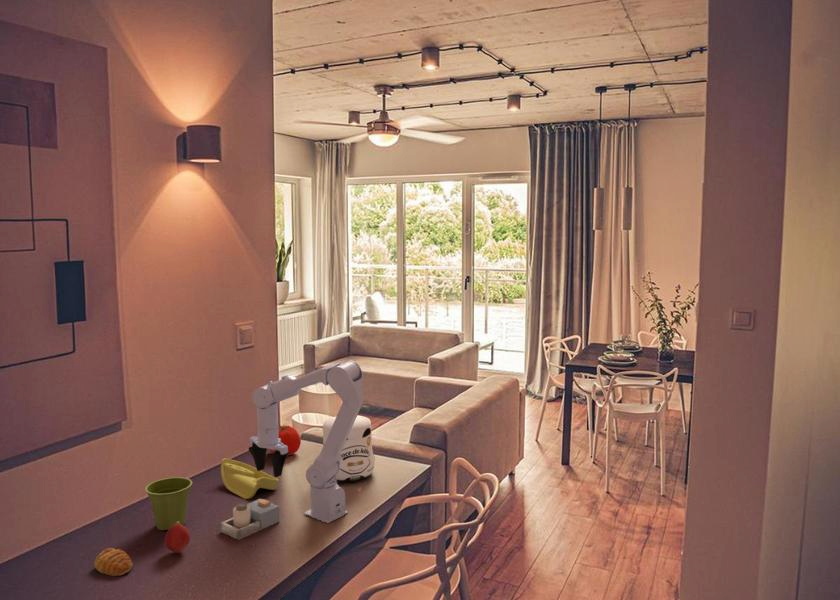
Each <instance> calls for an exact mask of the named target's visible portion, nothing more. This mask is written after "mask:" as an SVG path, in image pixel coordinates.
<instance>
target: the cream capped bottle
mask: <svg viewBox="0 0 840 600" xmlns="http://www.w3.org/2000/svg"><path fill="white" fill-rule="evenodd" d="M247 504H248V503H245V502H244V503H241V502H240V503H238V504H236V506H235V507H233V508H232V518H233V527H235V528H237V529H240V528H242V527H245V526H247V525H249V524H251V518H250V506H248V505H247Z"/></svg>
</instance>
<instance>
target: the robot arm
mask: <svg viewBox="0 0 840 600" xmlns="http://www.w3.org/2000/svg"><path fill="white" fill-rule="evenodd" d="M364 377H365V376H364V371H363V370H362V368H361V367H360V364H358V362H356V361H354V360H351V359H350V360H346V361H344V362H338V363H333V364H329V365H326V366H323V367H321V368H318V369H316V370H314V371H312V372H309V373H307V374H303V375H302V376H299V377H298V378H297V377H296V376H293V375H287V374H286V375H283V376H281V379H278V380H276V381H269V382H268V383H267V384H265V385H264V386H261V387H258V388H256V389H255V390H254V392H253V393H252V396H251V397H252V401H253V404H254V405H255V406H256V418H257V419H256V421H257V435H256V436H255V435H254V436H250V437H249V444H250V445H251V446H249V447H248V452H249V453H250V454H251V456H252V459H253V462H254V464H255V468H256V469H257V471H262V470H265V467H266V455H267V449H268V450H269V449H270V450H274V451H275V453H269V455H268V457H269V458H270V461H271V464H272V471H273V472H272V473H273V477H275V478H277V477H281V476H282V474H283V469H284V465H285V463H286V460H287V458H288V457H289V456H290V455H289V451H288V446H286V445H284V444H283V443H282V442H280V441H281V439H280V438H278V428H279V419H278V418H279V416H278V411H279V410H278V407H279V403H280V402H282V401H285V400H287V399H291V398H294V397H295V396H298V395H299V394H300V392H301V390H302V389H304V388H307V387H310V386H313V385H316V384H319V383H322V384H323V385H325V386H328V385H329V386H330V388H331V389H332V390H333V391H334V392H335V394H336V395H337V396H338V397H339V399H340V400H341V402H342V403H341V405H340V407H339V410H338V411H337V415H336V419H335V421H334V423H333V426H332V428H331V430H330V433H329V435H328V437H327V440H326V442H325V444H324V446H323V445H322V446H323V447H322V449H321V451H320V452H319V454H318V455H317V456H316V458H315V459H314V462H313V463H312V464H311V465H310V466H309V467H307V469H306V472H305V478H306V481H307V482H308V484H309V485H310V509H309V510H306V511H305V512H304V513H305V514H307V515H306V516H308V515H309V516H308V517H310V516H312V517H311V518H313V517H314V518H313V519H315V518H316V519H315V520H318V521H320V520H321V522H323V523H325V522H326V523H325V524H330V523H332V522H333V521H336V520H337V519H339V518H341V517H343V516H345V515H347V514H348V513H349V512H348V511H347V510H346V492H345V490H344V488H343V487H340V485H338V481H336V474H337V473H338V472H339V470H340V459H341V457H342V456H341V455H340V453H341V451H342V449H343V446H344V444H345V442H346V440H347V437H348V435H349V433H350V431H351V428H352V426H353V424H354V422H355V419H356V417H357V415H358V414H359V412H360V410H361V407H362V406H363V403H364V401H365V398H364V384H363V380H364ZM270 450H269V451H270ZM346 513H347V514H346ZM305 514H304V515H305ZM344 514H345V515H344Z"/></svg>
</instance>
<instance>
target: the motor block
mask: <svg viewBox="0 0 840 600" xmlns="http://www.w3.org/2000/svg"><path fill="white" fill-rule="evenodd" d="M246 504H247V505H248V506H250V516H251V517H253V518H255V519H257V520H260V521H261V529H262V528H265V527H267V526H269V525H271V524H273V523H276V522H278V521H279V522H280V505H277V504H274V503H273V502H271V501H269V500H267V499H265V498H258V499H256V500H253V501H250V502H249V503H248V502H247V503H246ZM279 522H278V523H279ZM276 524H277V523H276ZM267 528H268V527H267ZM265 529H266V528H265Z"/></svg>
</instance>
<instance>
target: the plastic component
mask: <svg viewBox="0 0 840 600" xmlns="http://www.w3.org/2000/svg"><path fill="white" fill-rule="evenodd" d="M220 463H221V464H220V475H221V480H222V483H223V485H224V487H225V488H226V489H227V490H228V491H230V492H232V493H233V494H235V495H237V496H239V497H240V498H242V499H244V500H250V499H252V498H253V497H254V496H255V495H256V493H257V491H258V490H259V489H265V490H270V491H275V490H276V489H277V486H278V484H279V482H280V481H279V478H277V477H274V475H273V476H272V475H270V474H269V473H266V472H265V471H262V470H260V471H257V468H256V467H254V466H252V465H250V464H247V463H244V462H242V461H238V460H234V459H230V458H226V457H225V458H222V460H221V462H220Z"/></svg>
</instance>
